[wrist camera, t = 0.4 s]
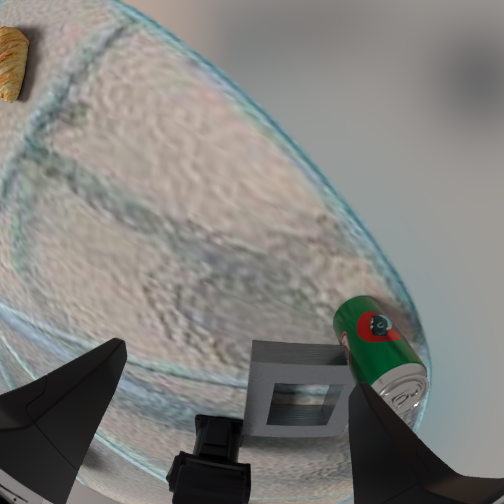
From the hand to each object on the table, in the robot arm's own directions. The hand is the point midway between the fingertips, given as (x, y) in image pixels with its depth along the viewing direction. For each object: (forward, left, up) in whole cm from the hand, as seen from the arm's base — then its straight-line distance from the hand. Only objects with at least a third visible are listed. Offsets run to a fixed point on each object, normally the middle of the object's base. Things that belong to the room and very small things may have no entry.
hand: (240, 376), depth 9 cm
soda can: (-5, -11, -16) cm, 20 cm away
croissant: (+25, +38, -16) cm, 48 cm away
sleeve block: (-15, -7, -16) cm, 22 cm away
